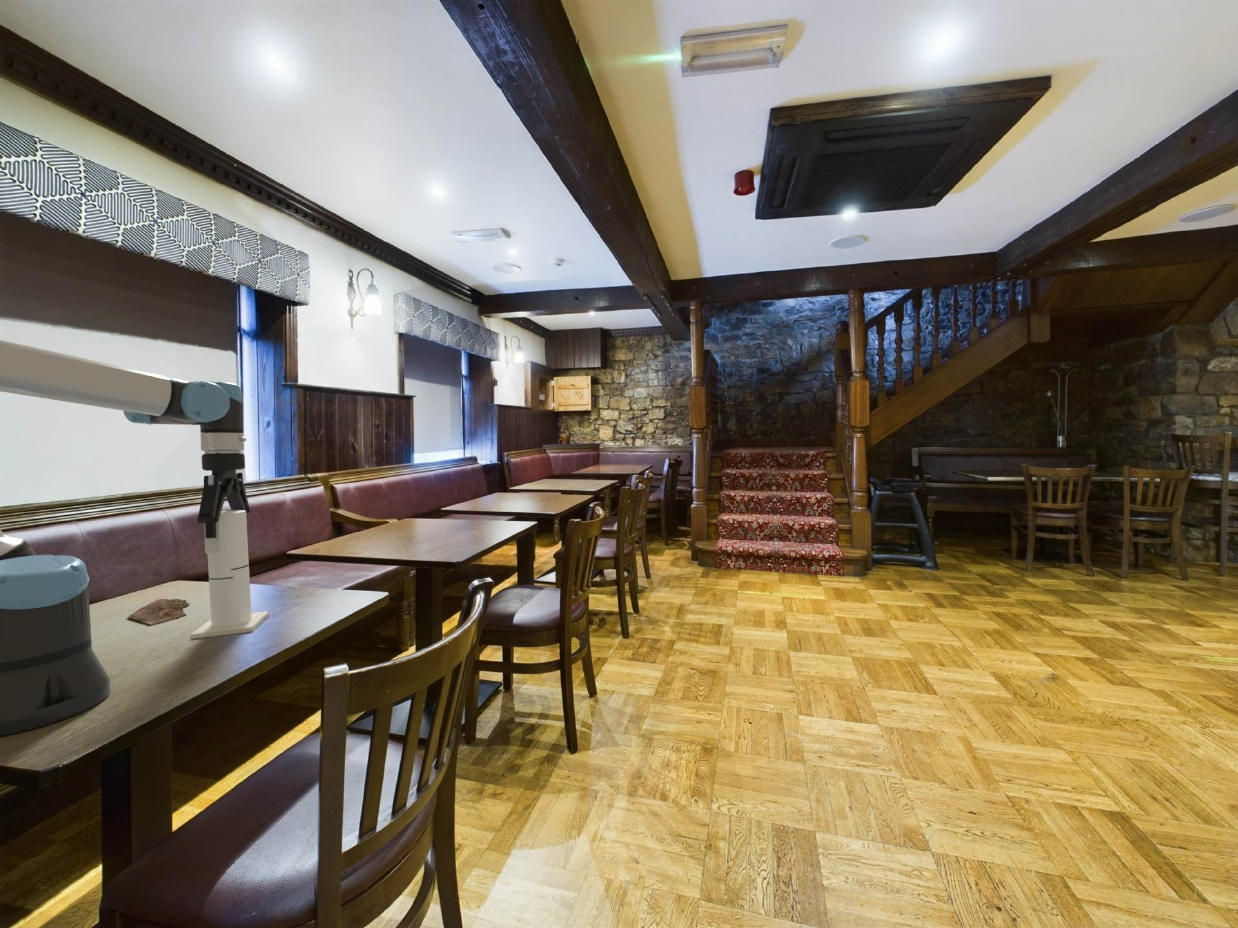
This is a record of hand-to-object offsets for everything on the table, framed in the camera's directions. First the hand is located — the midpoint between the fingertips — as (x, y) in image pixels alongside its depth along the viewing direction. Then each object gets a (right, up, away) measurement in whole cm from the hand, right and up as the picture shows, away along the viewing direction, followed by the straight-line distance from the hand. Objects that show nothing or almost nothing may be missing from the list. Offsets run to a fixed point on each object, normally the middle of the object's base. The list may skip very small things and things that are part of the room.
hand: (227, 547), depth 111 cm
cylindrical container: (0, -17, +1) cm, 17 cm away
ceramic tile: (0, -18, +1) cm, 18 cm away
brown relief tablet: (-27, -19, +13) cm, 35 cm away
